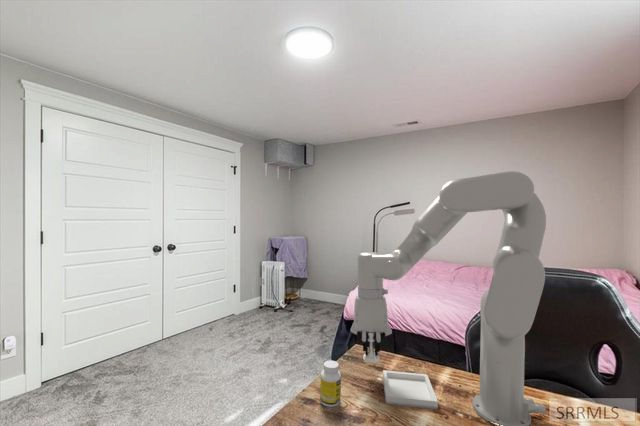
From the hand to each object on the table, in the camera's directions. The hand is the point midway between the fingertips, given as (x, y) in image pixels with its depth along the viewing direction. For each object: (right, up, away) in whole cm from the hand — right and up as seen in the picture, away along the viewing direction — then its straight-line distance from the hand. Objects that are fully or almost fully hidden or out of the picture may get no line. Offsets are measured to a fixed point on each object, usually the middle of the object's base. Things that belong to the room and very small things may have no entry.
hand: (371, 353), depth 90 cm
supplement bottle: (-13, -7, -12) cm, 19 cm away
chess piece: (0, -2, 0) cm, 2 cm away
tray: (+9, -7, -7) cm, 14 cm away
